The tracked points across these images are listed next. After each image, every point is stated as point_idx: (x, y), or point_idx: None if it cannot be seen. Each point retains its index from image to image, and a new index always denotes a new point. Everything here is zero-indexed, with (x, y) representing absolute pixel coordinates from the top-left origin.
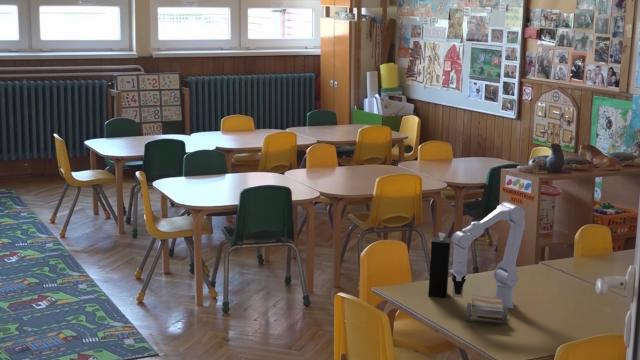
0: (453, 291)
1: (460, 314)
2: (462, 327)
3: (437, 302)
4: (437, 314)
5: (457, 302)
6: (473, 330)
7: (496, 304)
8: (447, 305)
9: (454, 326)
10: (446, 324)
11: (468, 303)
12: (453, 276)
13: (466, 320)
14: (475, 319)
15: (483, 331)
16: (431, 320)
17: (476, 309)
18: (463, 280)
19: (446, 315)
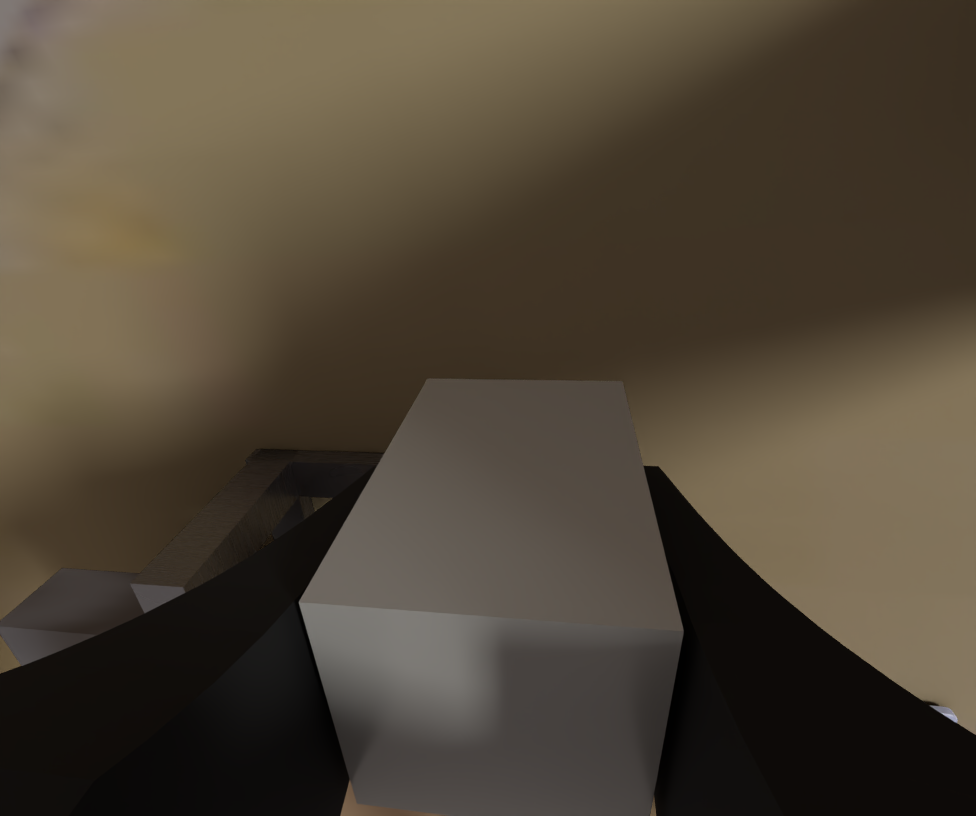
0: (395, 444)
1: (410, 398)
2: (66, 415)
3: (851, 38)
4: (288, 103)
5: (857, 363)
6: (64, 498)
7: (352, 805)
8: (710, 228)
9: (37, 341)
10: (31, 254)
11: (154, 597)
12: (759, 781)
13: (255, 453)
14: (273, 535)
15: (96, 563)
16: (24, 33)
17: (27, 653)
18: None
19: (308, 237)
